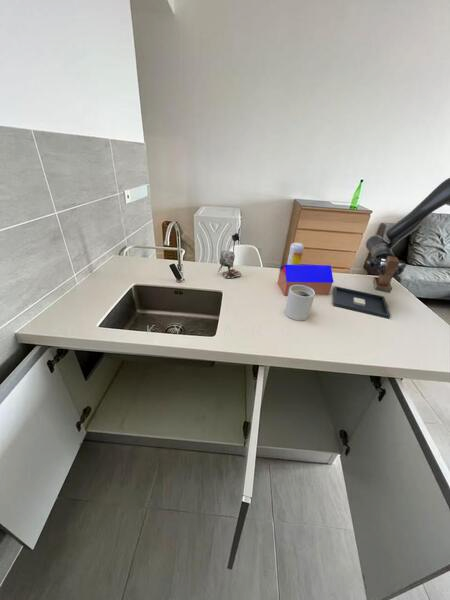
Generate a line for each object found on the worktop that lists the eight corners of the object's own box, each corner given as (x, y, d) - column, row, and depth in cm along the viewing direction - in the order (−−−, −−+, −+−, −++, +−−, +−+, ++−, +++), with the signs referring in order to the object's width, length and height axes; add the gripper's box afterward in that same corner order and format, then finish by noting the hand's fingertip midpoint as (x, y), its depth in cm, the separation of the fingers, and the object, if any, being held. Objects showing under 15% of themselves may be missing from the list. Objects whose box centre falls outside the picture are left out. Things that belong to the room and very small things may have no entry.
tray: (382, 300, 103) (384, 296, 102) (388, 320, 90) (390, 315, 89) (333, 290, 109) (334, 286, 108) (332, 307, 96) (334, 302, 95)
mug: (294, 322, 86) (300, 298, 81) (278, 309, 93) (283, 286, 88) (317, 316, 90) (324, 293, 85) (300, 303, 97) (306, 281, 92)
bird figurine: (218, 271, 120) (219, 230, 109) (240, 272, 120) (244, 231, 110) (217, 278, 113) (218, 235, 103) (241, 279, 113) (245, 237, 103)
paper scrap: (363, 301, 100) (364, 299, 100) (364, 306, 97) (365, 304, 96) (353, 299, 101) (354, 297, 101) (353, 303, 98) (354, 301, 98)
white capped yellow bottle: (300, 274, 121) (307, 245, 114) (291, 276, 118) (298, 247, 111) (291, 269, 126) (297, 241, 118) (282, 272, 123) (288, 243, 115)
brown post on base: (386, 283, 95) (399, 256, 89) (389, 293, 89) (403, 264, 83) (372, 281, 96) (384, 253, 90) (374, 290, 90) (387, 261, 84)
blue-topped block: (276, 282, 112) (280, 259, 106) (318, 283, 114) (324, 259, 108) (283, 296, 102) (289, 270, 96) (329, 296, 104) (337, 271, 98)
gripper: (367, 246, 100) (371, 260, 87) (406, 252, 96) (417, 268, 83) (361, 262, 104) (364, 279, 91) (398, 269, 100) (407, 287, 87)
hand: (389, 273), depth 87 cm, fingers closed on brown post on base, 3 cm apart
